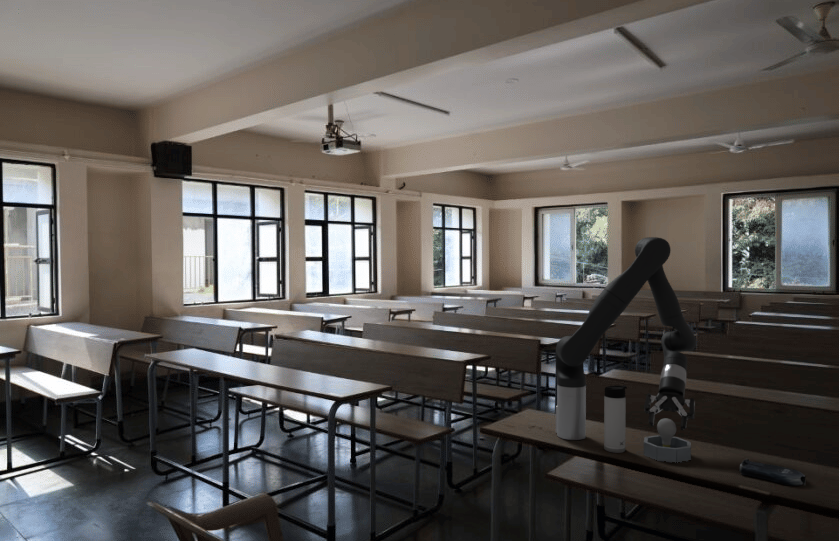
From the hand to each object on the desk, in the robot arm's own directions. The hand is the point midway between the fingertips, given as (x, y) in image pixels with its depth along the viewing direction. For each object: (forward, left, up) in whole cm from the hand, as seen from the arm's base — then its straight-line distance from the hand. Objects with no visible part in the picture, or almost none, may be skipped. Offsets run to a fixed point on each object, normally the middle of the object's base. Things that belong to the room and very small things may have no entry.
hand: (666, 426), depth 182 cm
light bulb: (-1, 0, -8) cm, 8 cm away
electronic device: (+25, +13, -9) cm, 30 cm away
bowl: (0, 0, -9) cm, 9 cm away
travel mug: (-10, -11, -9) cm, 17 cm away
